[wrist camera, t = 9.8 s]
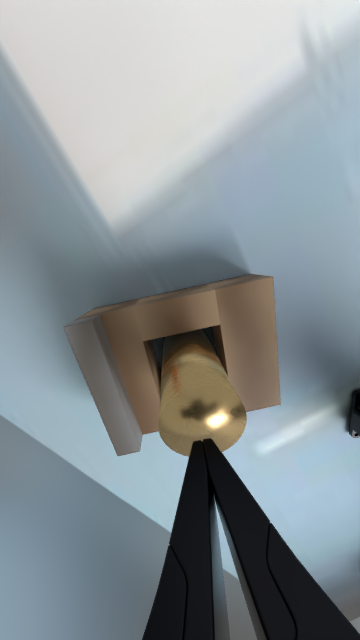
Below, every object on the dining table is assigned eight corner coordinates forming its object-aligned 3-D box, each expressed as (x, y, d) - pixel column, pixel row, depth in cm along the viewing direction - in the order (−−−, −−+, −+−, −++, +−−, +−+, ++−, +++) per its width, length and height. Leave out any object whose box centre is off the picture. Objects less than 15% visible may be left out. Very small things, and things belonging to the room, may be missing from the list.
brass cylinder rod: (204, 320, 17) (241, 377, 9) (212, 361, 19) (250, 447, 10) (158, 330, 17) (148, 397, 9) (168, 371, 19) (169, 464, 10)
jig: (251, 273, 16) (286, 278, 11) (261, 380, 19) (291, 418, 15) (93, 308, 16) (63, 327, 12) (130, 409, 20) (117, 456, 15)
